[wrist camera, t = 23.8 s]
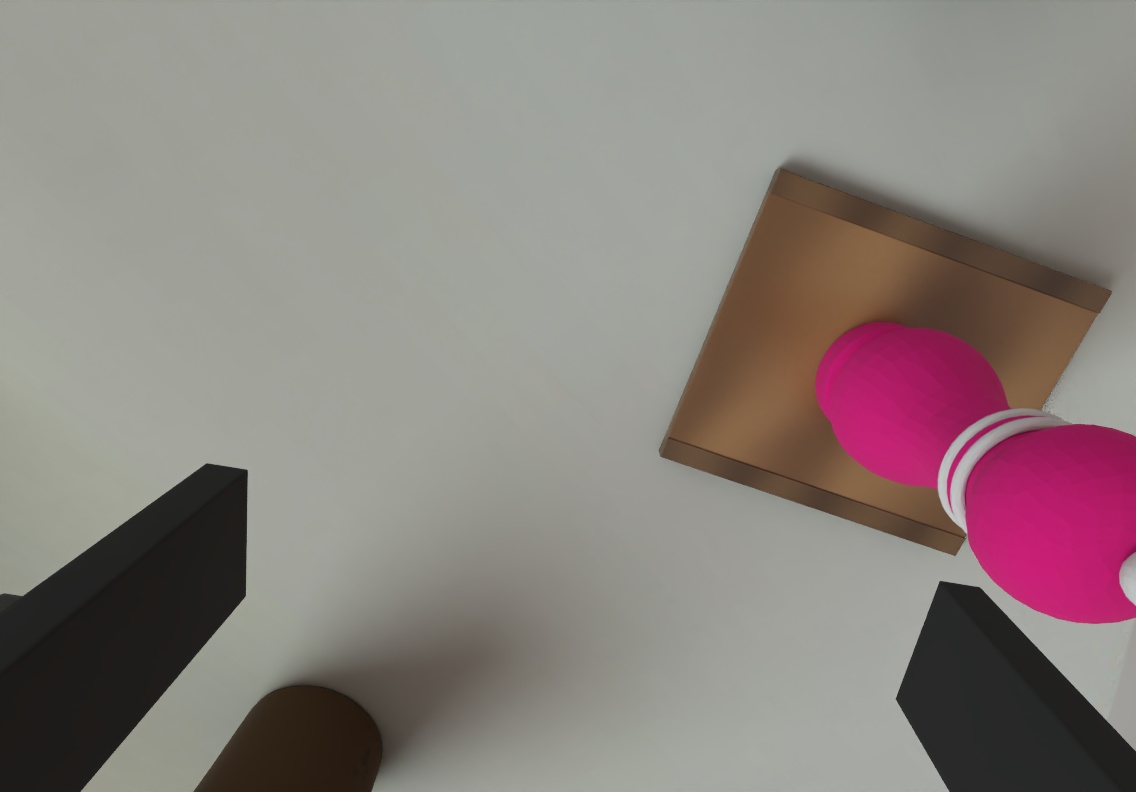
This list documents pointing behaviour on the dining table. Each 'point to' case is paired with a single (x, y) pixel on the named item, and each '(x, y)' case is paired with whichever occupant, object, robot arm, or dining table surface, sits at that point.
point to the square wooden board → (834, 307)
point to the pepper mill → (992, 466)
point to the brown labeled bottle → (299, 746)
